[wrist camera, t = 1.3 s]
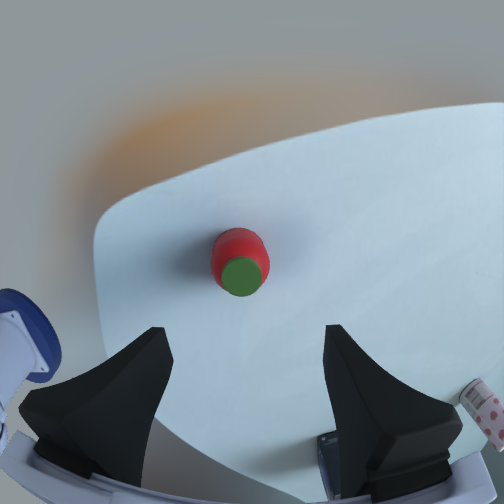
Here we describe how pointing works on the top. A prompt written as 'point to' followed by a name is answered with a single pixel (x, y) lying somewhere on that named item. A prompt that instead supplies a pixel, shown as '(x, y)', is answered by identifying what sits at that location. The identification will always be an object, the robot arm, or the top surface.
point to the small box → (329, 465)
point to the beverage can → (485, 411)
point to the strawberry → (239, 262)
